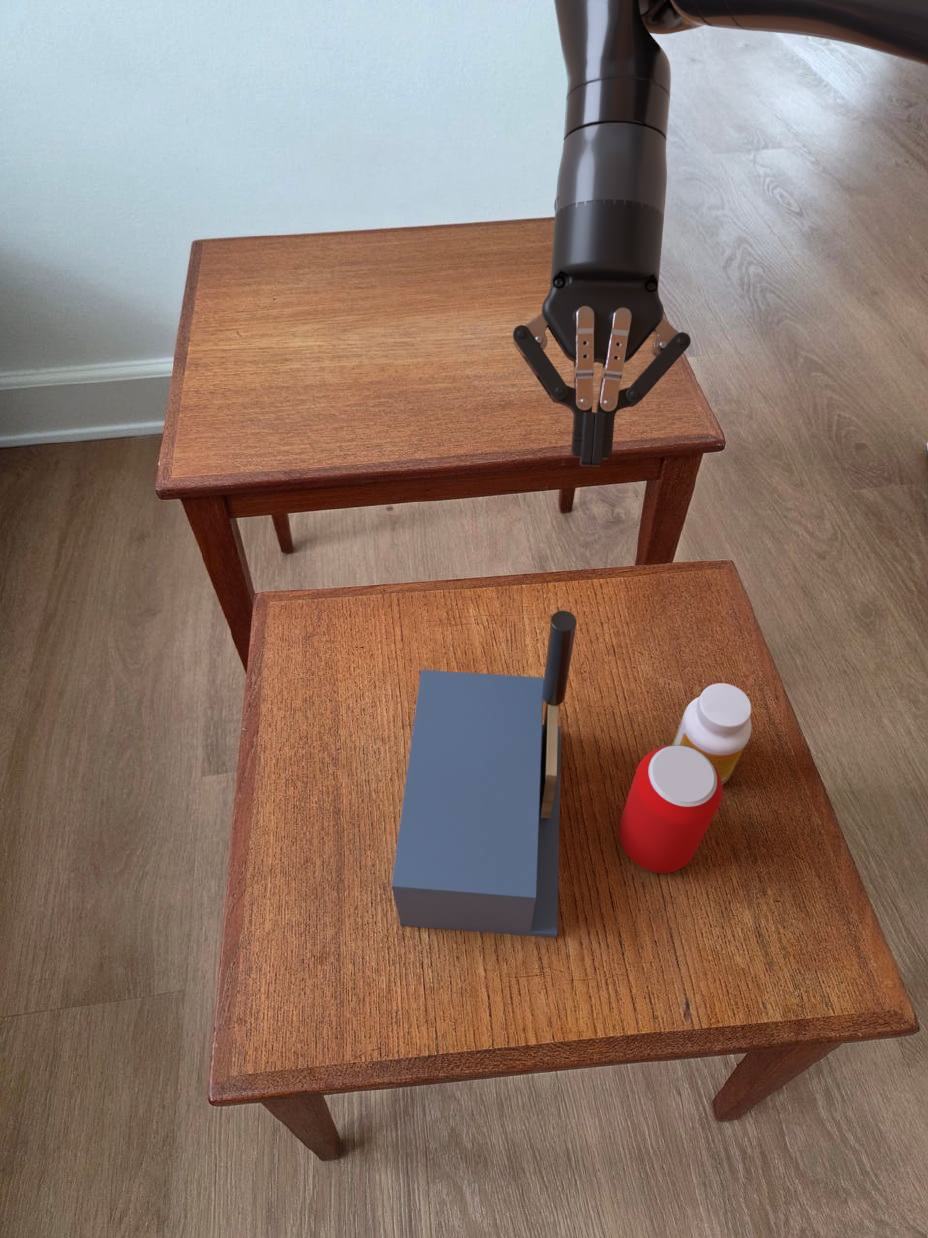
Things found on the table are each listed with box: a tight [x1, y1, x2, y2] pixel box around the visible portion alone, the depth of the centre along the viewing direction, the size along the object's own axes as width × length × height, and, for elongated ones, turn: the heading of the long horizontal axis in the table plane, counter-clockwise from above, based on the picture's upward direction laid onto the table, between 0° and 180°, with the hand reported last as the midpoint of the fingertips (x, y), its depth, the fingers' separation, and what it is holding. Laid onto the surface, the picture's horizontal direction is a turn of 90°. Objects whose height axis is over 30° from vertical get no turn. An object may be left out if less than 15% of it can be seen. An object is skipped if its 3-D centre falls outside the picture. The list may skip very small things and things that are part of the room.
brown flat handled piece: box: [540, 610, 578, 818], centre depth 65 cm, size 2×8×18 cm, turn 175°
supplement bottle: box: [671, 682, 753, 785], centre depth 70 cm, size 5×5×10 cm
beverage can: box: [618, 744, 723, 874], centre depth 65 cm, size 6×6×12 cm
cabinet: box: [390, 669, 562, 939], centre depth 67 cm, size 12×18×9 cm, turn 175°
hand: (590, 465), depth 62 cm, fingers closed
